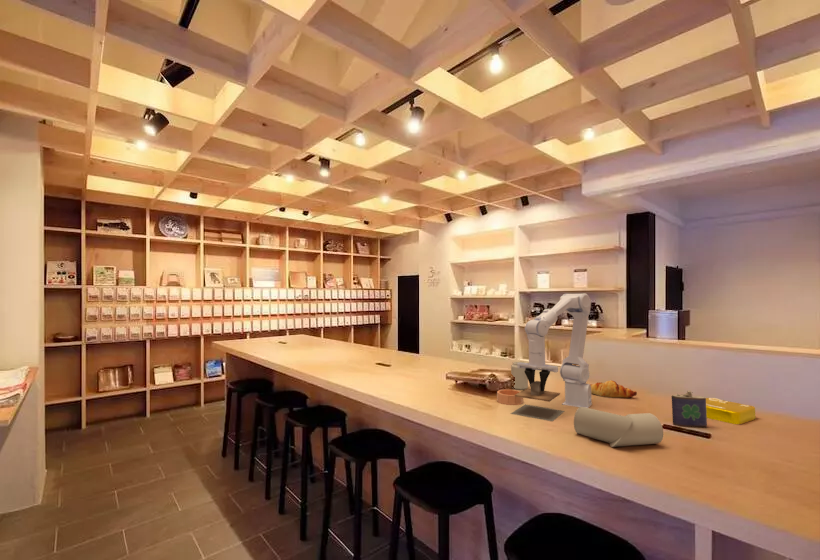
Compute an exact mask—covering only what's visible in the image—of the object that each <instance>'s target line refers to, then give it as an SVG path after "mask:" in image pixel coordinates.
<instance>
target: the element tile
mask: <svg viewBox="0 0 820 560" xmlns="http://www.w3.org/2000/svg"><path fill="white" fill-rule="evenodd" d="M705 398H706V415H707V419H709V420H710V419H711V420H715V421H719V422H722V423H727V424H731V425H743V424H745V423H748V422H751V421H754V420H756V407H755V406H753V405H751V404H743V403H739V402H736V401H735V402H734V401H728V400H724V399H720V398H716V397H705Z"/></svg>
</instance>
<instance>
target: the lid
mask: <svg viewBox="0 0 820 560" xmlns="http://www.w3.org/2000/svg"><path fill="white" fill-rule="evenodd" d="M540 386H541V381H540V380H535V382H533V383H531V387H530V388H526V389H525V390H520V392H519V393H517V394H515V396H516V397H522V398H523V399H530V400H535V401H536V400H537V401H543V402H549V403H550V402H552V401H553V400H554V399H556V398H557V397H559V396H560V395H561V392H556V391H549V390H544V391H541V388H540Z"/></svg>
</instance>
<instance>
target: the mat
mask: <svg viewBox="0 0 820 560" xmlns="http://www.w3.org/2000/svg"><path fill="white" fill-rule="evenodd" d="M564 412H565V410H561V409H554V408H549V407H542V406H537V405H531V404H523V405H522V406H520V407H519V408H517V409H516V410H514V411H512V412H510V414H511V415H516V416H521V417H526V418H533V419H537V420H542V421H547V422H554V421H555V420H556V419H557V418H559V417H560V416H561V415H562V414H564Z"/></svg>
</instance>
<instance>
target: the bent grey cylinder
mask: <svg viewBox="0 0 820 560" xmlns="http://www.w3.org/2000/svg"><path fill="white" fill-rule="evenodd" d="M573 427H574V431H575V433H576V434H577V435H581V436H585V437H588V438H590V439H595V440H597V441H602V442H605V443H608V444H609V446H610V448H615V447H630V446H642V445H654V444H657V445H658V444H660V443H661V442H662V441H663V439H664V428H663V425H662V422H661V421H660V420H659V418H658V417H657V416H656V415H655V414H653V413H650V412H646V413H645V412H644V413H628V414H626V415H621V414H617V413H611V412H608V411H603V410H598V409H594V408H586V407H577V409H576V411H575V413H574V417H573Z"/></svg>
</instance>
